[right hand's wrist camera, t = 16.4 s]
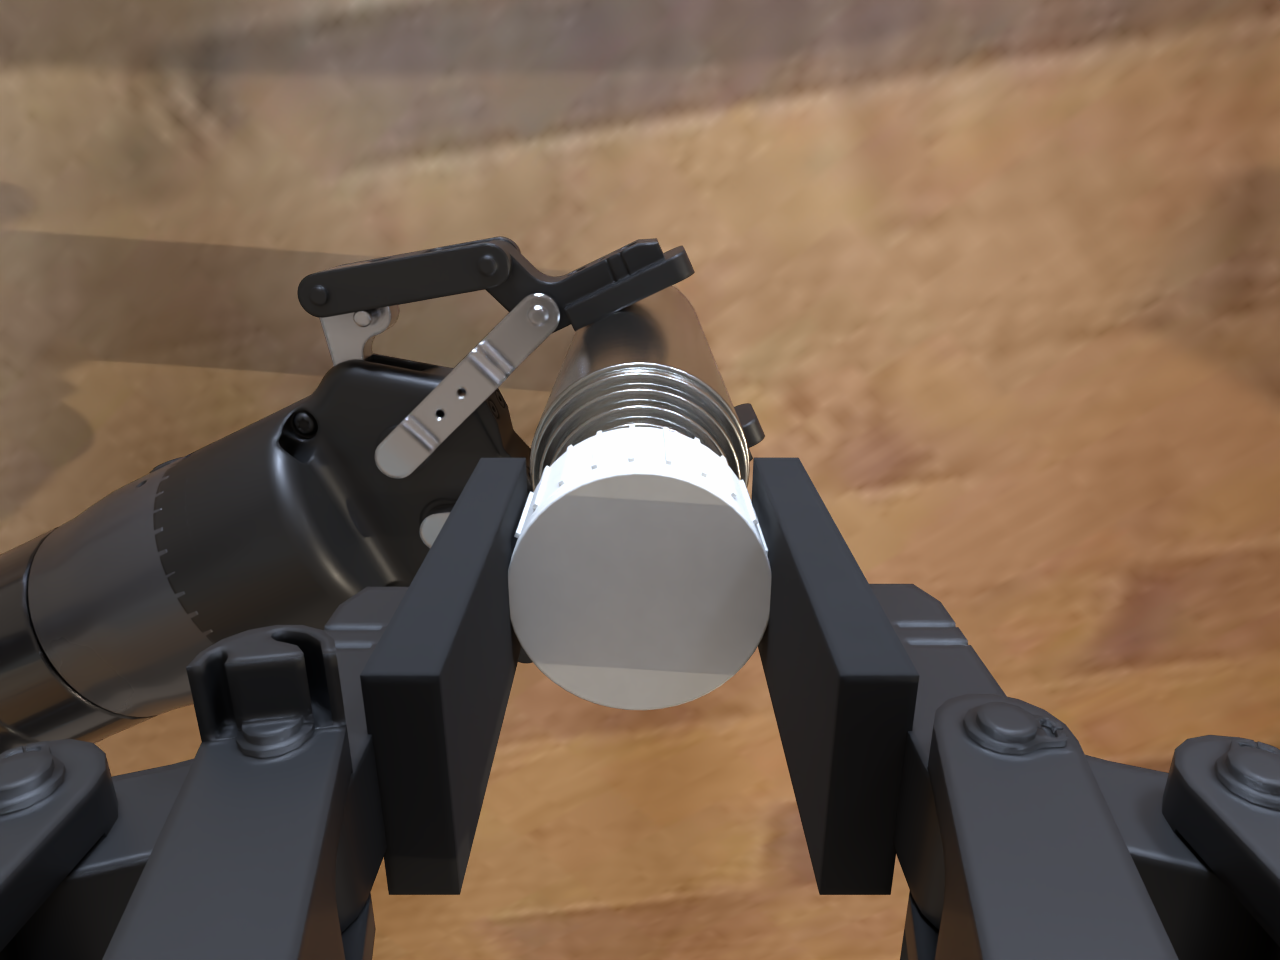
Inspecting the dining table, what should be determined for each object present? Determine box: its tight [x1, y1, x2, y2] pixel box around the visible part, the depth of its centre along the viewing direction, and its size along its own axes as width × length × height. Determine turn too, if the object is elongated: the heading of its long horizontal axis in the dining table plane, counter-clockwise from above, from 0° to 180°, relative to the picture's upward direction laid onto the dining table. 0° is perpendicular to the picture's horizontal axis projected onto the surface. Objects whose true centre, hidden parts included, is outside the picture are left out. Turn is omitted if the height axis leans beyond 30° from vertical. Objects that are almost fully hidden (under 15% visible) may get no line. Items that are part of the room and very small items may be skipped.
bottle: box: [530, 286, 750, 493], centre depth 22 cm, size 5×5×20 cm
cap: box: [508, 425, 772, 710], centre depth 13 cm, size 4×4×2 cm
